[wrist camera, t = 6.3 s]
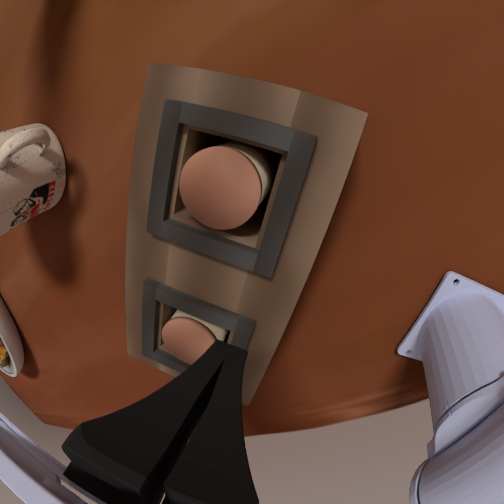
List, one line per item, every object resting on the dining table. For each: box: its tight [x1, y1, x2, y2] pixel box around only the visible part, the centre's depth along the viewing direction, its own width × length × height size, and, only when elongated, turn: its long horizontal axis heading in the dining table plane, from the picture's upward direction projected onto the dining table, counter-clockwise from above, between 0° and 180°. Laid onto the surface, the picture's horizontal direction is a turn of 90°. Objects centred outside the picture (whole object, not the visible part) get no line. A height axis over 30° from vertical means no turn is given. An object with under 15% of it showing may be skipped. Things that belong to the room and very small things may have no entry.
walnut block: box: [125, 63, 368, 406], centre depth 19 cm, size 11×22×5 cm, turn 165°
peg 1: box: [179, 140, 278, 230], centre depth 17 cm, size 4×4×5 cm
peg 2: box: [162, 310, 229, 365], centre depth 22 cm, size 4×4×5 cm
